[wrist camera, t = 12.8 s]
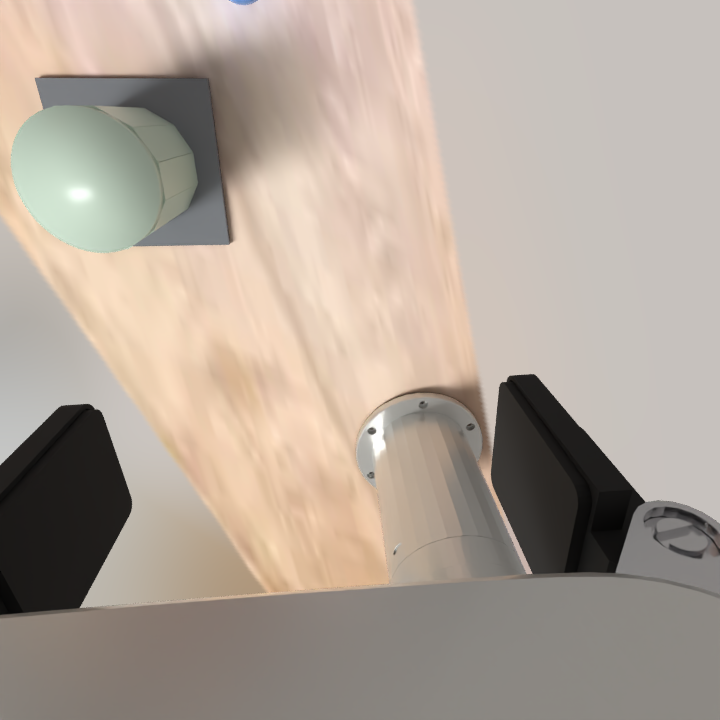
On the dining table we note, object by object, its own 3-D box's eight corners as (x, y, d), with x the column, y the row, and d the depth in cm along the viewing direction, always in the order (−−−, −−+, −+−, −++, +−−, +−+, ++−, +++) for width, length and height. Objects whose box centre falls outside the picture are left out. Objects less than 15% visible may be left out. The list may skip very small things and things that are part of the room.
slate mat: (230, 243, 36) (229, 244, 36) (84, 245, 35) (82, 247, 35) (208, 78, 31) (206, 78, 31) (37, 78, 30) (34, 77, 30)
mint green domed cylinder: (204, 222, 35) (171, 251, 27) (100, 224, 34) (38, 254, 27) (186, 107, 31) (142, 104, 24) (70, 107, 31) (-12, 105, 23)
